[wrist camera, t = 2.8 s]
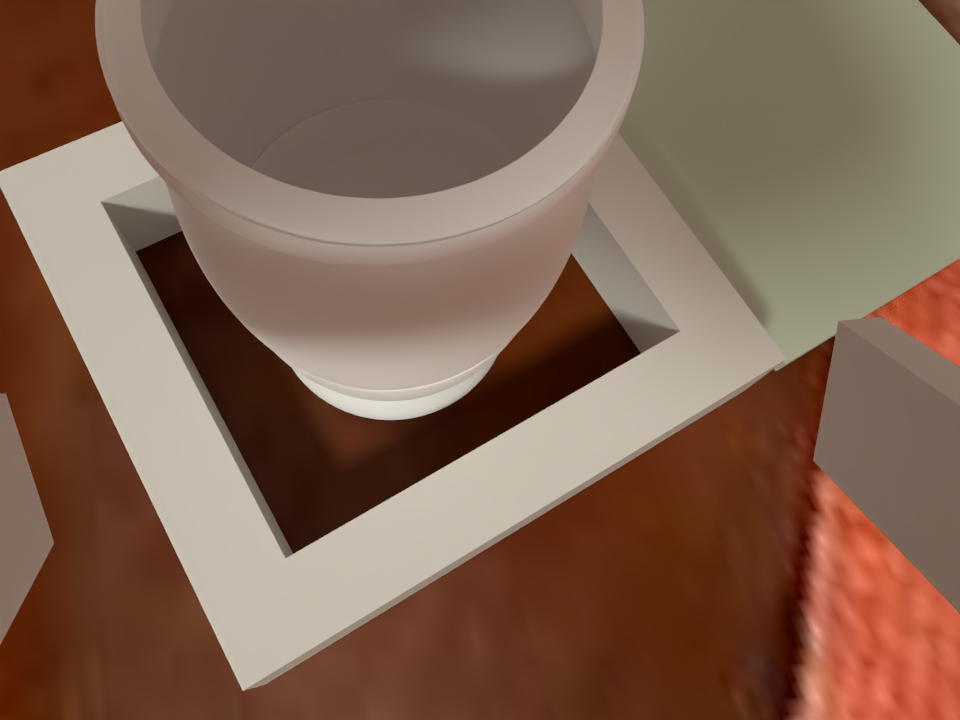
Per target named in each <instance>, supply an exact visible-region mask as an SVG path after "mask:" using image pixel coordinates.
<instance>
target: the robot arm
mask: <svg viewBox="0 0 960 720" xmlns="http://www.w3.org/2000/svg"><path fill="white" fill-rule="evenodd" d="M813 461H814V462H815V463H816V464H817V465H818V466H819V467H820V468H821V469H822V470H823V471H824V472H825V473H826V474H827V475H828V476H829V477H830V478H831V480H832V481H833V482H834V483H835V484H836V485H837V486H838V487H839V488H840V489H841V490H842V491H843V492H844V493H845V494H846V495H847V496H848V497H849V498H850V499H851V500H852V501H853V502H854V503H855V505H856V506H857V507H858V508H859V509H860V510H861V511H862V512H863V513H864V514H865V515H866V516H867V517H868V518H869V519H870V520H871V521H872V522H873V523H874V524H875V525H876V526H877V527H878V528H879V530H880V531H881V532H882V533H883V534H884V535H885V536H886V537H887V538H888V539H889V540H890V541H891V542H892V543H893V544H894V545H895V546H896V547H897V548H898V549H899V550H900V551H901V552H902V553H903V555H904V556H905V557H906V558H907V559H908V560H909V561H910V562H911V563H912V564H913V565H914V566H915V567H916V568H917V569H918V570H919V571H920V572H921V573H922V574H923V575H924V576H925V577H926V578H927V580H928V581H929V582H930V583H931V584H932V585H933V586H934V587H935V588H936V589H937V590H938V591H939V592H940V593H941V594H942V595H943V596H944V597H945V598H946V599H947V600H948V601H949V602H950V603H951V605H952V606H953V607H954V608H955V609H956V610H957V611H958V612H959V613H960V367H959V366H957V365H956V364H954V363H953V362H951V361H950V360H948V359H946V358H945V357H943V356H942V355H940V354H939V353H937V352H935V351H934V350H932V349H931V348H929V347H928V346H926V345H924V344H923V343H921V342H920V341H918V340H917V339H915V338H913V337H912V336H910V335H909V334H907V333H906V332H904V331H902V330H901V329H899V328H898V327H896V326H895V325H893V324H891V323H890V322H888V321H887V320H885V319H884V318H882V317H875V318H864V319H852V320H841V321H838V326H837V332H836V337H835V343H834V348H833V354H832V359H831V365H830V371H829V376H828V382H827V387H826V393H825V398H824V404H823V410H822V415H821V421H820V426H819V432H818V437H817V443H816V448H815V454H814V460H813ZM53 544H54V541H53V538H52V535H51V532H50V529H49V526H48V523H47V520H46V517H45V514H44V510H43V507H42V504H41V501H40V498H39V495H38V492H37V489H36V486H35V483H34V480H33V476H32V473H31V470H30V467H29V464H28V461H27V458H26V455H25V452H24V449H23V446H22V442H21V439H20V436H19V433H18V430H17V427H16V424H15V421H14V418H13V415H12V411H11V408H10V405H9V402H8V399H7V396H6V393H3V394H0V644H1V642H2V640H3V639H4V637H5V635H6V633H7V631H8V629H9V627H10V625H11V623H12V621H13V620H14V618H15V616H16V614H17V612H18V610H19V608H20V606H21V604H22V603H23V601H24V599H25V597H26V595H27V593H28V591H29V589H30V587H31V586H32V584H33V582H34V580H35V578H36V576H37V574H38V572H39V570H40V569H41V567H42V565H43V563H44V561H45V559H46V557H47V555H48V553H49V552H50V550H51V548H52V546H53Z"/></svg>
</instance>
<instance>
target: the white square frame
mask: <svg viewBox="0 0 960 720" xmlns="http://www.w3.org/2000/svg"><path fill="white" fill-rule="evenodd" d="M0 187H1V189H2V191H3V193H4V195H5V197H6V199H7V202H8V204H9V206H10V208H11V210H12V212H13V214H14V216H15V218H16V220H17V222H18V224H19V227H20V229H21V231H22V233H23V235H24V237H25V239H26V241H27V243H28V245H29V247H30V249H31V251H32V254H33V256H34V258H35V260H36V262H37V264H38V266H39V268H40V270H41V272H42V274H43V276H44V279H45V281H46V283H47V285H48V287H49V289H50V291H51V293H52V295H53V297H54V299H55V301H56V303H57V306H58V308H59V310H60V312H61V314H62V316H63V318H64V320H65V322H66V324H67V326H68V328H69V331H70V333H71V335H72V337H73V339H74V341H75V343H76V345H77V347H78V349H79V351H80V353H81V355H82V358H83V360H84V362H85V364H86V366H87V368H88V370H89V372H90V374H91V376H92V378H93V380H94V383H95V385H96V387H97V389H98V391H99V393H100V395H101V397H102V399H103V401H104V403H105V405H106V407H107V410H108V412H109V414H110V416H111V418H112V420H113V422H114V424H115V426H116V428H117V430H118V432H119V435H120V437H121V439H122V441H123V443H124V445H125V447H126V449H127V451H128V453H129V455H130V457H131V459H132V462H133V464H134V466H135V468H136V470H137V472H138V474H139V476H140V478H141V480H142V482H143V484H144V487H145V489H146V491H147V493H148V495H149V497H150V499H151V501H152V503H153V505H154V507H155V509H156V511H157V514H158V516H159V518H160V520H161V522H162V524H163V526H164V528H165V530H166V532H167V534H168V536H169V539H170V541H171V543H172V545H173V547H174V549H175V551H176V553H177V555H178V557H179V559H180V561H181V563H182V566H183V568H184V570H185V572H186V574H187V576H188V578H189V580H190V582H191V584H192V586H193V588H194V590H195V593H196V595H197V597H198V599H199V601H200V603H201V605H202V607H203V609H204V611H205V613H206V615H207V618H208V620H209V622H210V624H211V626H212V628H213V630H214V632H215V634H216V636H217V638H218V640H219V642H220V645H221V647H222V649H223V651H224V653H225V655H226V657H227V659H228V661H229V663H230V665H231V667H232V670H233V672H234V674H235V676H236V678H237V680H238V682H239V684H240V686H241V688H242V690H243V691H244V690H247V689H251V688H255V687H258V686H262V685H265V684H267V683H269V682H270V681H272V680H273V679H275V678H277V677H278V676H280V675H282V674H283V673H285V672H287V671H288V670H290V669H291V668H293V667H295V666H296V665H298V664H300V663H301V662H303V661H304V660H306V659H308V658H309V657H311V656H313V655H314V654H316V653H317V652H319V651H321V650H322V649H324V648H326V647H327V646H329V645H331V644H332V643H334V642H335V641H337V640H339V639H340V638H342V637H344V636H345V635H347V634H348V633H350V632H352V631H353V630H355V629H357V628H358V627H360V626H362V625H363V624H365V623H366V622H368V621H370V620H371V619H373V618H375V617H376V616H378V615H379V614H381V613H383V612H384V611H386V610H388V609H389V608H391V607H393V606H394V605H396V604H397V603H399V602H401V601H402V600H404V599H406V598H407V597H409V596H410V595H412V594H414V593H415V592H417V591H419V590H420V589H422V588H423V587H425V586H427V585H428V584H430V583H432V582H433V581H435V580H437V579H438V578H440V577H441V576H443V575H445V574H446V573H448V572H450V571H451V570H453V569H454V568H456V567H458V566H459V565H461V564H463V563H464V562H466V561H468V560H469V559H471V558H472V557H474V556H476V555H477V554H479V553H481V552H482V551H484V550H485V549H487V548H489V547H490V546H492V545H494V544H495V543H497V542H499V541H500V540H502V539H503V538H505V537H507V536H508V535H510V534H512V533H513V532H515V531H516V530H518V529H520V528H521V527H523V526H525V525H526V524H528V523H529V522H531V521H533V520H534V519H536V518H538V517H539V516H541V515H543V514H544V513H546V512H547V511H549V510H551V509H552V508H554V507H556V506H557V505H559V504H560V503H562V502H564V501H565V500H567V499H569V498H570V497H572V496H574V495H575V494H577V493H578V492H580V491H582V490H583V489H585V488H587V487H588V486H590V485H591V484H593V483H595V482H596V481H598V480H600V479H601V478H603V477H605V476H606V475H608V474H609V473H611V472H613V471H614V470H616V469H618V468H619V467H621V466H622V465H624V464H626V463H627V462H629V461H631V460H632V459H634V458H635V457H637V456H639V455H640V454H642V453H644V452H645V451H647V450H649V449H650V448H652V447H653V446H655V445H657V444H658V443H660V442H662V441H663V440H665V439H666V438H668V437H670V436H671V435H673V434H675V433H676V432H678V431H680V430H681V429H683V428H684V427H686V426H688V425H689V424H691V423H693V422H694V421H696V420H697V419H699V418H701V417H702V416H704V415H706V414H707V413H709V412H711V411H712V410H714V409H715V408H717V407H719V406H720V405H722V404H724V403H725V402H727V401H728V400H730V399H732V398H733V397H735V396H737V395H738V394H740V393H741V392H743V391H745V390H746V389H747V388H749V387H750V386H751V385H753V384H754V383H755V382H757V381H758V380H759V379H760V378H762V377H763V376H764V375H766V374H767V373H768V372H770V371H771V370H772V369H774V368H775V367H776V366H778V365H779V364H780V363H782V362H783V361H784V360H785V359H787V358H786V357H785V356H784V354H783V353H782V351H781V350H780V349H779V347H778V346H777V345H776V343H775V342H774V341H773V339H772V338H771V337H770V335H769V334H768V333H767V331H766V330H765V329H764V327H763V326H762V325H761V323H760V322H759V321H758V319H757V318H756V317H755V315H754V314H753V313H752V311H751V310H750V309H749V307H748V306H747V305H746V303H745V302H744V301H743V299H742V298H741V297H740V295H739V294H738V292H737V291H736V290H735V288H734V287H733V286H732V284H731V283H730V282H729V280H728V279H727V278H726V276H725V275H724V274H723V272H722V271H721V270H720V268H719V267H718V266H717V264H716V263H715V262H714V260H713V259H712V258H711V256H710V255H709V254H708V252H707V251H706V250H705V248H704V247H703V246H702V244H701V243H700V242H699V240H698V239H697V238H696V236H695V235H694V233H693V232H692V231H691V229H690V228H689V227H688V225H687V224H686V223H685V221H684V220H683V219H682V217H681V216H680V215H679V213H678V212H677V211H676V209H675V208H674V207H673V205H672V204H671V203H670V201H669V200H668V199H667V197H666V196H665V195H664V193H663V192H662V191H661V189H660V188H659V187H658V185H657V184H656V183H655V181H654V180H653V179H652V177H651V176H650V174H649V173H648V172H647V170H646V169H645V168H644V166H643V165H642V164H641V162H640V161H639V160H638V158H637V157H636V156H635V154H634V153H633V152H632V150H631V149H630V148H629V146H628V145H627V144H626V142H625V141H624V140H623V138H622V137H621V136H620V134H619V133H618V132H617V134H616V136H615V138H614V140H613V142H612V144H611V145H610V147H609V149H608V150H607V152H606V153H605V155H604V156H603V158H602V159H601V161H600V162H599V163H598V165H597V166H596V167H595V173H594V178H593V184H592V188H591V193H590V197H589V201H588V205H587V209H586V213H585V216H584V219H583V223H582V226H581V229H580V232H579V234H578V237H577V240H576V242H575V245H574V247H573V250H572V252H571V253H572V255H573V256H574V257H575V259H576V260H577V262H578V263H579V265H580V266H581V268H582V269H583V270H584V272H585V273H586V275H587V276H588V278H589V279H590V281H591V282H592V283H593V285H594V286H595V288H596V289H597V291H598V292H599V294H600V295H601V296H602V298H603V299H604V301H605V302H606V304H607V305H608V307H609V308H610V309H611V311H612V312H613V314H614V315H615V317H616V318H617V320H618V321H619V322H620V324H621V325H622V327H623V328H624V330H625V331H626V333H627V334H628V335H629V337H630V338H631V340H632V341H633V343H634V344H635V346H636V347H637V348H638V350H639V351H640V353H641V354H640V355H638V356H636V357H635V358H633V359H631V360H629V361H628V362H626V363H624V364H622V365H621V366H619V367H617V368H615V369H614V370H612V371H610V372H609V373H607V374H605V375H603V376H602V377H600V378H598V379H596V380H595V381H593V382H591V383H589V384H588V385H586V386H584V387H582V388H581V389H579V390H577V391H576V392H574V393H572V394H570V395H569V396H567V397H565V398H563V399H562V400H560V401H558V402H556V403H555V404H553V405H551V406H549V407H548V408H546V409H544V410H543V411H541V412H539V413H537V414H536V415H534V416H532V417H530V418H529V419H527V420H525V421H523V422H522V423H520V424H518V425H516V426H515V427H513V428H511V429H510V430H508V431H506V432H504V433H503V434H501V435H499V436H497V437H496V438H494V439H492V440H490V441H489V442H487V443H485V444H483V445H482V446H480V447H478V448H477V449H475V450H473V451H471V452H470V453H468V454H466V455H464V456H463V457H461V458H459V459H457V460H456V461H454V462H452V463H450V464H449V465H447V466H445V467H444V468H442V469H440V470H438V471H437V472H435V473H433V474H431V475H430V476H428V477H426V478H424V479H423V480H421V481H419V482H417V483H416V484H414V485H412V486H411V487H409V488H407V489H405V490H404V491H402V492H400V493H398V494H397V495H395V496H393V497H391V498H390V499H388V500H386V501H384V502H383V503H381V504H379V505H378V506H376V507H374V508H372V509H371V510H369V511H367V512H365V513H364V514H362V515H360V516H358V517H357V518H355V519H353V520H351V521H350V522H348V523H346V524H345V525H343V526H341V527H339V528H338V529H336V530H334V531H332V532H331V533H329V534H327V535H325V536H324V537H322V538H320V539H318V540H317V541H315V542H313V543H312V544H310V545H308V546H306V547H305V548H303V549H301V550H299V551H298V552H296V553H294V554H293V552H292V550H291V549H290V547H289V545H288V543H287V541H286V539H285V537H284V535H283V533H282V531H281V529H280V527H279V525H278V524H277V522H276V520H275V518H274V516H273V514H272V512H271V510H270V508H269V506H268V504H267V502H266V501H265V499H264V497H263V495H262V493H261V491H260V489H259V487H258V485H257V483H256V481H255V479H254V478H253V476H252V474H251V472H250V470H249V468H248V466H247V464H246V462H245V460H244V458H243V456H242V455H241V453H240V451H239V449H238V447H237V445H236V443H235V441H234V439H233V437H232V435H231V433H230V432H229V430H228V428H227V426H226V424H225V422H224V420H223V418H222V416H221V414H220V412H219V410H218V409H217V407H216V405H215V403H214V401H213V399H212V397H211V395H210V393H209V391H208V389H207V387H206V386H205V384H204V382H203V380H202V378H201V376H200V374H199V372H198V370H197V368H196V366H195V364H194V363H193V361H192V359H191V357H190V355H189V353H188V351H187V349H186V347H185V345H184V343H183V341H182V340H181V338H180V336H179V334H178V332H177V330H176V328H175V326H174V324H173V322H172V320H171V318H170V317H169V315H168V313H167V311H166V309H165V307H164V305H163V303H162V301H161V299H160V297H159V295H158V294H157V292H156V290H155V288H154V286H153V284H152V282H151V280H150V278H149V276H148V274H147V272H146V271H145V269H144V267H143V265H142V263H141V261H140V259H139V257H138V255H137V253H136V251H138V250H141V249H143V248H145V247H147V246H149V245H152V244H154V243H156V242H158V241H161V240H163V239H165V238H167V237H169V236H172V235H174V234H176V233H178V232H180V231H182V229H181V226H180V224H179V221H178V219H177V216H176V213H175V210H174V207H173V204H172V201H171V198H170V195H169V192H168V188H167V185H166V182H165V181H164V180H163V179H162V178H161V177H160V175H159V174H158V173H157V172H156V171H155V170H154V169H153V167H152V166H151V165H150V164H149V162H148V161H147V160H146V159H145V157H144V156H143V155H142V153H141V152H140V151H139V149H138V148H137V146H136V144H135V143H134V141H133V140H132V138H131V136H130V134H129V133H128V131H127V129H126V127H125V125H124V123H123V121H122V122H120V123H117V124H115V125H112V126H110V127H107V128H105V129H102V130H100V131H98V132H95V133H93V134H90V135H88V136H85V137H83V138H80V139H78V140H76V141H73V142H71V143H68V144H66V145H63V146H61V147H59V148H56V149H54V150H51V151H49V152H46V153H44V154H41V155H39V156H37V157H34V158H32V159H29V160H27V161H24V162H22V163H19V164H17V165H15V166H12V167H10V168H7V169H5V170H2V171H0Z"/></svg>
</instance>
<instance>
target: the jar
mask: <svg viewBox="0 0 960 720" xmlns="http://www.w3.org/2000/svg"><path fill="white" fill-rule="evenodd" d="M95 31H96V42H97V48H98V54H99V59H100V63H101V67H102V70H103V74H104V77H105V80H106V83H107V85H108V88H109V90H110V93H111V95H112V98H113V101H114V103H115V106H116V108H117V111H118V113H119V115H120V117H121V119H122V121H123V123H124V125H125V127H126V129H127V131H128V133H129V134H130V136H131V138H132V140H133V141H134V143H135V144H136V146H137V148H138V149H139V151H140V152H141V153H142V155H143V156H144V157H145V159H146V160H147V161H148V162H149V164H150V165H151V166H152V167H153V169H154V170H155V171H156V172H157V173H158V174H159V175H160V177H161V178H162V179H163V180H164V181H165V182H166V185H167V188H168V192H169V195H170V198H171V201H172V204H173V207H174V210H175V213H176V216H177V219H178V221H179V224H180V226H181V229H182V231H183V233H184V236H185V238H186V240H187V242H188V245H189V247H190V249H191V251H192V253H193V255H194V257H195V258H196V260H197V262H198V264H199V266H200V268H201V269H202V271H203V273H204V274H205V276H206V278H207V279H208V281H209V282H210V284H211V285H212V287H213V288H214V290H215V291H216V292H217V294H218V295H219V297H220V298H221V299H222V301H223V302H224V303H225V304H226V306H227V307H228V308H229V309H230V310H231V312H232V313H233V314H234V315H235V316H236V317H237V319H238V320H239V321H240V322H241V323H242V324H243V325H244V326H245V327H246V328H247V329H248V330H249V331H250V332H251V333H252V334H253V335H254V336H255V337H257V338H258V339H259V340H260V341H261V342H262V343H263V344H265V345H266V346H267V347H268V348H270V349H271V350H272V351H273V352H274V353H276V354H277V355H278V356H279V357H280V358H281V359H282V360H283V361H284V362H286V363H287V364H288V365H289V366H290V367H292V369H293V370H294V372H295V373H296V375H297V376H298V377H299V378H300V380H301V381H302V382H303V383H304V384H305V385H306V386H307V387H308V388H309V389H310V390H311V391H312V392H314V393H315V394H316V395H317V396H319V397H320V398H321V399H323V400H324V401H326V402H328V403H329V404H331V405H333V406H335V407H337V408H339V409H341V410H343V411H346V412H348V413H351V414H354V415H357V416H361V417H366V418H371V419H379V420H402V419H410V418H415V417H420V416H424V415H427V414H430V413H433V412H436V411H438V410H440V409H443V408H445V407H447V406H449V405H451V404H452V403H454V402H456V401H457V400H459V399H460V398H462V397H463V396H464V395H466V394H467V393H468V392H469V391H471V390H472V389H473V388H474V387H475V386H476V385H477V384H478V383H479V382H480V381H481V380H482V378H483V377H484V376H485V375H486V373H487V372H488V371H489V369H490V368H491V366H492V365H493V363H494V361H495V359H496V358H497V356H498V354H499V353H500V352H501V351H502V350H503V349H504V348H505V347H506V346H507V345H508V343H509V342H510V341H511V340H512V339H513V337H514V336H515V335H516V334H517V333H518V332H519V331H520V330H521V329H522V328H523V327H524V325H525V324H526V323H527V322H528V321H529V320H530V319H531V317H532V316H533V315H534V314H535V313H536V311H537V310H538V309H539V307H540V306H541V305H542V303H543V302H544V301H545V299H546V298H547V296H548V295H549V293H550V292H551V290H552V288H553V287H554V285H555V283H556V282H557V280H558V278H559V276H560V275H561V273H562V271H563V269H564V267H565V265H566V263H567V261H568V259H569V256H570V254H571V252H572V250H573V247H574V245H575V242H576V240H577V237H578V234H579V232H580V229H581V226H582V223H583V219H584V216H585V213H586V209H587V205H588V201H589V197H590V193H591V188H592V184H593V178H594V173H595V167H596V166H597V165H598V163H599V162H600V161H601V159H602V158H603V156H604V155H605V153H606V152H607V150H608V149H609V147H610V145H611V144H612V142H613V140H614V138H615V136H616V134H617V132H618V130H619V128H620V126H621V124H622V122H623V119H624V117H625V115H626V112H627V110H628V107H629V104H630V101H631V97H632V94H633V91H634V88H635V85H636V82H637V79H638V75H639V71H640V66H641V61H642V55H643V47H644V11H643V3H642V0H96V7H95Z"/></svg>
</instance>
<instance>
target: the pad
mask: <svg viewBox="0 0 960 720" xmlns="http://www.w3.org/2000/svg"><path fill="white" fill-rule="evenodd" d="M642 3H643V11H644V47H643V55H642V61H641V66H640V71H639V75H638V79H637V82H636V85H635V88H634V91H633V94H632V97H631V101H630V104H629V107H628V110H627V112H626V115H625V117H624V119H623V122H622V124H621V126H620V128H619V130H618V133H619V134H620V136H621V137H622V138H623V140H624V141H625V142H626V144H627V145H628V146H629V148H630V149H631V150H632V152H633V153H634V154H635V156H636V157H637V158H638V160H639V161H640V162H641V164H642V165H643V166H644V168H645V169H646V170H647V172H648V173H649V174H650V176H651V177H652V179H653V180H654V181H655V183H656V184H657V185H658V187H659V188H660V189H661V191H662V192H663V193H664V195H665V196H666V197H667V199H668V200H669V201H670V203H671V204H672V205H673V207H674V208H675V209H676V211H677V212H678V213H679V215H680V216H681V217H682V219H683V220H684V221H685V223H686V224H687V225H688V227H689V228H690V229H691V231H692V232H693V233H694V235H695V236H696V238H697V239H698V240H699V242H700V243H701V244H702V246H703V247H704V248H705V250H706V251H707V252H708V254H709V255H710V256H711V258H712V259H713V260H714V262H715V263H716V264H717V266H718V267H719V268H720V270H721V271H722V272H723V274H724V275H725V276H726V278H727V279H728V280H729V282H730V283H731V284H732V286H733V287H734V288H735V290H736V291H737V292H738V294H739V295H740V297H741V298H742V299H743V301H744V302H745V303H746V305H747V306H748V307H749V309H750V310H751V311H752V313H753V314H754V315H755V317H756V318H757V319H758V321H759V322H760V323H761V325H762V326H763V327H764V329H765V330H766V331H767V333H768V334H769V335H770V337H771V338H772V339H773V341H774V342H775V343H776V345H777V346H778V347H779V349H780V350H781V351H782V353H783V354H784V356H785V357H786V358H787V359H785V360H784V361H783V362H782V363H780V364H779V365H778V366H776V367H775V368H774V370H775V371H777V370H779V369H781V368H782V367H784V366H786V365H787V364H789V363H790V362H792V361H794V360H795V359H797V358H799V357H800V356H802V355H803V354H805V353H807V352H808V351H810V350H812V349H813V348H815V347H817V346H818V345H820V344H821V343H823V342H825V341H826V340H828V339H830V338H831V337H833V336H834V335H836V332H837V326H838V321H841V320H852V319H862V318H864V317H865V316H867V315H869V314H870V313H872V312H874V311H875V310H877V309H878V308H880V307H882V306H883V305H885V304H887V303H888V302H890V301H892V300H893V299H895V298H896V297H898V296H900V295H901V294H903V293H905V292H906V291H908V290H909V289H911V288H913V287H914V286H916V285H918V284H919V283H921V282H923V281H924V280H926V279H927V278H929V277H931V276H932V275H934V274H936V273H937V272H939V271H940V270H942V269H944V268H945V267H947V266H949V265H950V264H952V263H953V262H955V261H957V260H958V259H960V45H959V44H958V43H957V42H956V41H955V40H954V39H953V38H952V36H951V35H950V34H949V33H948V32H947V31H946V30H945V29H944V28H943V27H942V26H941V24H940V23H939V22H938V21H937V20H936V19H935V18H934V17H933V16H932V15H931V14H930V12H929V11H928V10H927V9H926V8H925V7H924V6H923V5H922V4H921V3H920V2H919V1H918V0H642Z"/></svg>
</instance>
